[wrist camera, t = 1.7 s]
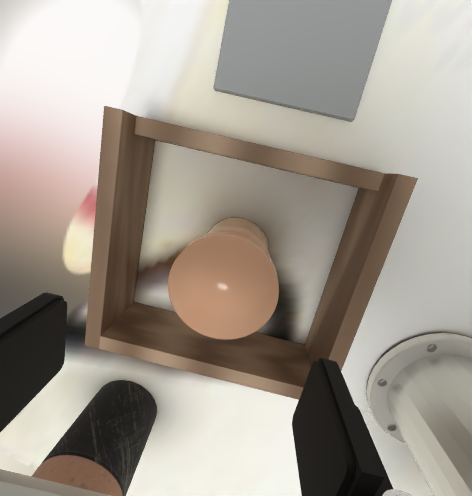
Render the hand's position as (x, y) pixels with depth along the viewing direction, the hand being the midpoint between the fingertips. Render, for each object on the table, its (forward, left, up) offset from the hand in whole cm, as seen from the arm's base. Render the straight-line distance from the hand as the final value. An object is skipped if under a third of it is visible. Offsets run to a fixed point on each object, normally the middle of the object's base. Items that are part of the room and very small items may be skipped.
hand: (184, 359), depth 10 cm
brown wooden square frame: (-1, 0, -16) cm, 16 cm away
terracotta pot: (-1, 0, -16) cm, 16 cm away
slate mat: (-2, -18, -16) cm, 24 cm away
